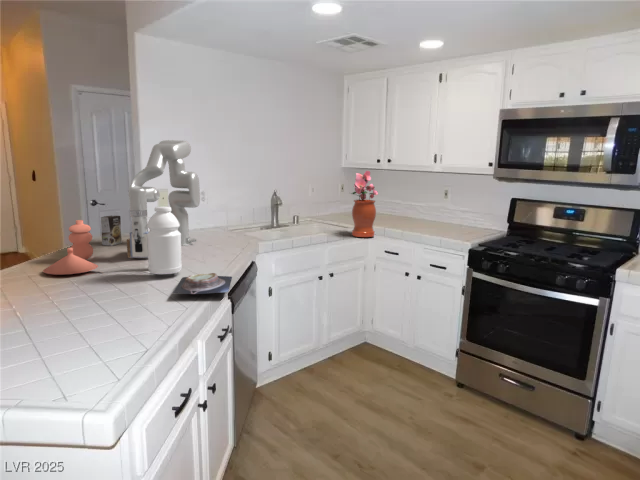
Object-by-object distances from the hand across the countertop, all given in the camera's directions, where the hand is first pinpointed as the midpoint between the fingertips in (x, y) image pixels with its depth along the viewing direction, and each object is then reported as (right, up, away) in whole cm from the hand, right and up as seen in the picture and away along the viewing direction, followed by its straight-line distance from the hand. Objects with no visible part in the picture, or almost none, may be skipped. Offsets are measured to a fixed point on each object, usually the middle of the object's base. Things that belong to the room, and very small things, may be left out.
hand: (140, 250), depth 207 cm
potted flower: (+117, +8, +89) cm, 147 cm away
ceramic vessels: (-24, -6, -14) cm, 28 cm away
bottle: (+20, -9, -21) cm, 30 cm away
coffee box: (-32, +3, +37) cm, 49 cm away
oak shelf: (-1, -2, +11) cm, 11 cm away
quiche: (+42, -13, -41) cm, 60 cm away
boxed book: (0, -3, +1) cm, 3 cm away
